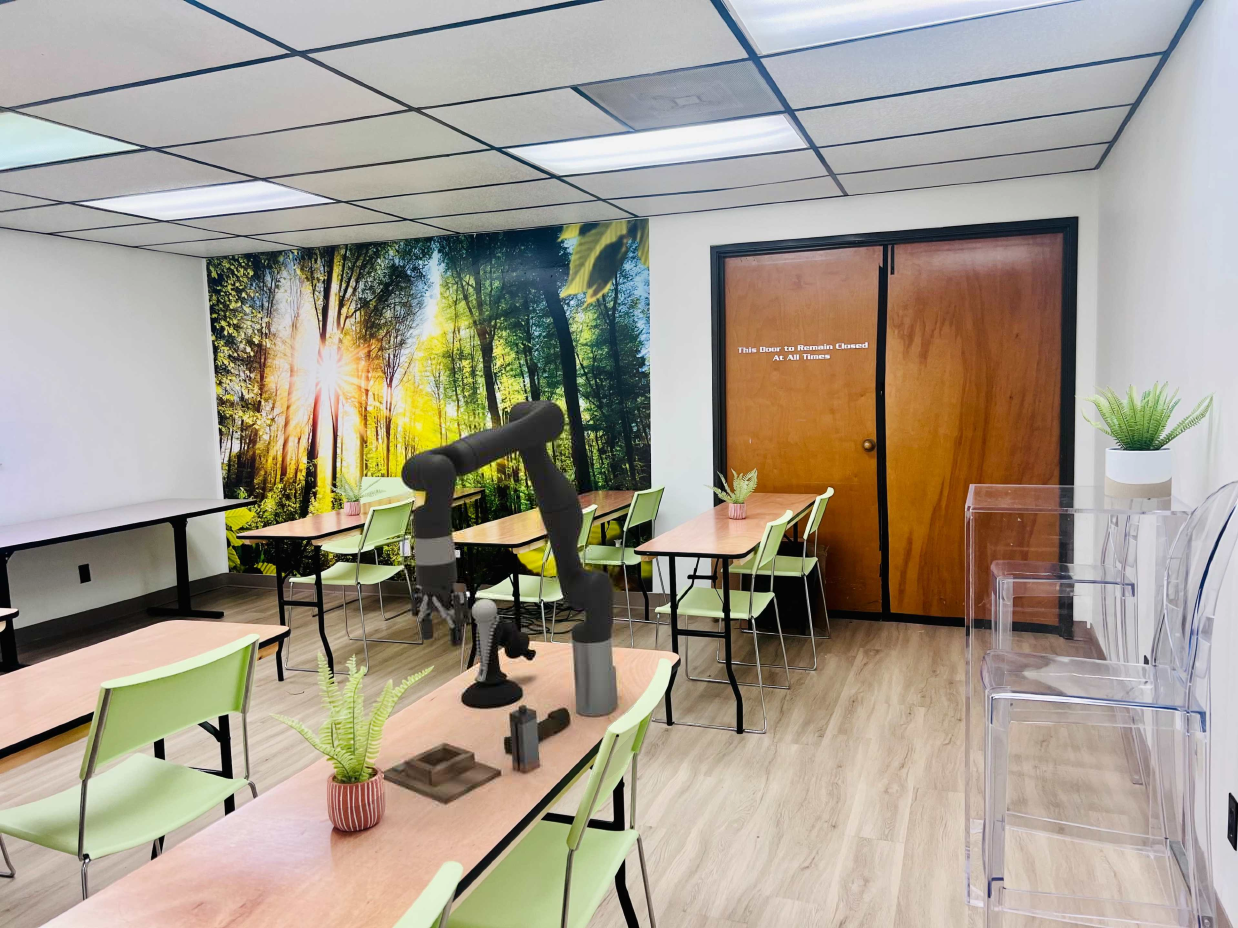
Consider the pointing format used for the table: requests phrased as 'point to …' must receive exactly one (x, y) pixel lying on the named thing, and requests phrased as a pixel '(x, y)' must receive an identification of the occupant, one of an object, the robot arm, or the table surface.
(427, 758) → the stand
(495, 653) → the sculpture
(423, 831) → the table surface
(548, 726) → the dark wooden branch
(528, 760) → the grey square peg
